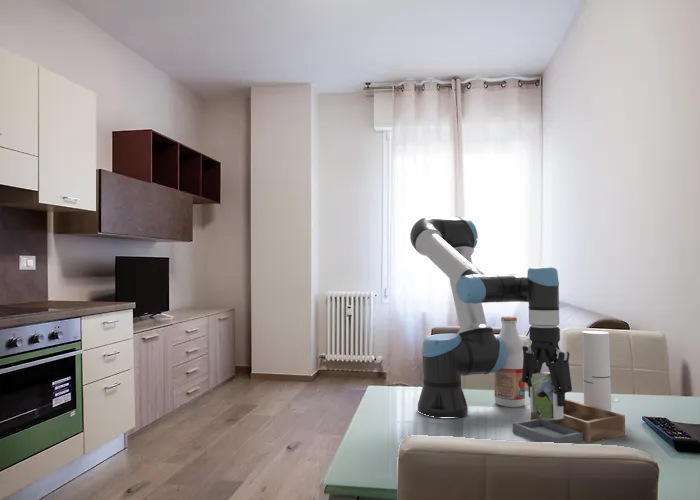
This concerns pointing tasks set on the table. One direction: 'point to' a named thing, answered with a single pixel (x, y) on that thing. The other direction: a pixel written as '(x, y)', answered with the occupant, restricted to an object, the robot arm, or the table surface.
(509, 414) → the table surface
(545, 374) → the beverage can
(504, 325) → the fruit juice
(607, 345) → the cylindrical container
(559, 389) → the robot arm
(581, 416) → the crate
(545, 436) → the tray
